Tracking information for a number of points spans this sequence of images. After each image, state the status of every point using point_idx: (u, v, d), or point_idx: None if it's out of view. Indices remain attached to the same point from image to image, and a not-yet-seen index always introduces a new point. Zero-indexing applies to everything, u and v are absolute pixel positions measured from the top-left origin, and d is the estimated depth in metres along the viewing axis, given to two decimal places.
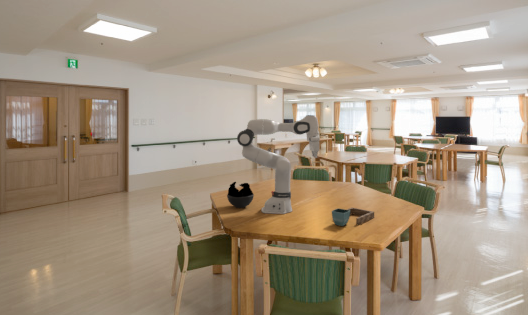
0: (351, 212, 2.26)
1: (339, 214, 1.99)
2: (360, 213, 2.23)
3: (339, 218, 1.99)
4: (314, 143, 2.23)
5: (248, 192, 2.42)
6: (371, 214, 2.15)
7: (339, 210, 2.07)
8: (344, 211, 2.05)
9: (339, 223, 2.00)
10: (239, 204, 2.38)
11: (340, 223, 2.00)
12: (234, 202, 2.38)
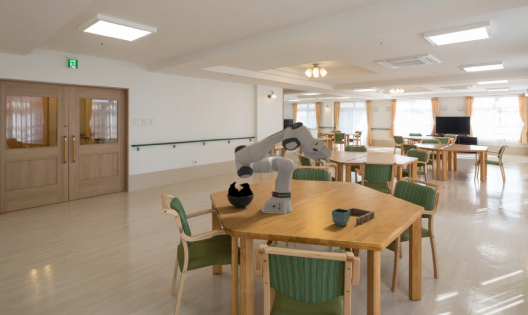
0: (351, 212, 2.26)
1: (339, 214, 1.99)
2: (360, 213, 2.23)
3: (339, 218, 1.99)
4: (324, 150, 1.83)
5: (248, 192, 2.42)
6: (371, 214, 2.15)
7: (339, 210, 2.07)
8: (344, 211, 2.05)
9: (339, 223, 2.00)
10: (239, 204, 2.38)
11: (340, 223, 2.00)
12: (234, 202, 2.38)
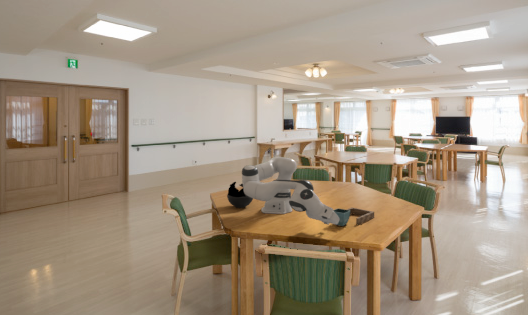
0: (351, 212, 2.26)
1: (339, 214, 1.99)
2: (360, 213, 2.23)
3: (339, 218, 1.99)
4: (333, 218, 1.79)
5: None
6: (371, 214, 2.15)
7: (339, 210, 2.07)
8: (344, 211, 2.05)
9: (339, 223, 2.00)
10: (239, 204, 2.38)
11: (340, 223, 2.00)
12: (234, 202, 2.38)
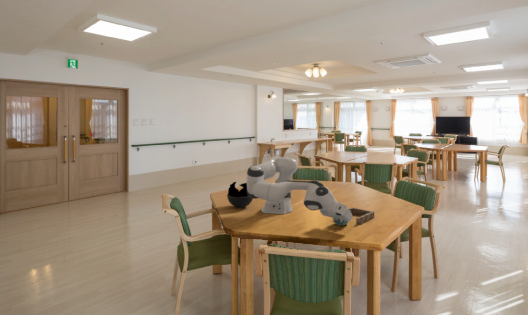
0: (351, 212, 2.26)
1: None
2: (360, 213, 2.23)
3: None
4: (347, 215, 1.86)
5: None
6: (371, 214, 2.15)
7: None
8: None
9: (340, 223, 2.01)
10: (239, 204, 2.38)
11: (341, 223, 2.00)
12: (234, 202, 2.38)
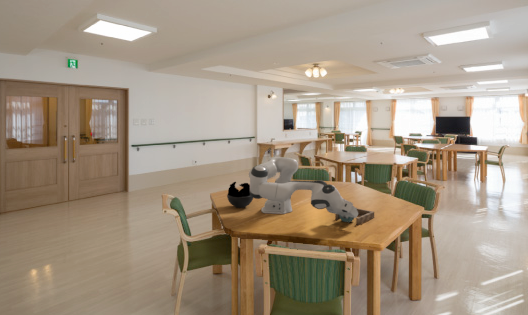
0: None
1: None
2: (360, 213, 2.23)
3: None
4: (353, 211, 1.92)
5: (248, 192, 2.42)
6: (371, 214, 2.15)
7: None
8: None
9: (345, 219, 2.07)
10: (239, 204, 2.38)
11: (346, 219, 2.06)
12: (234, 202, 2.38)
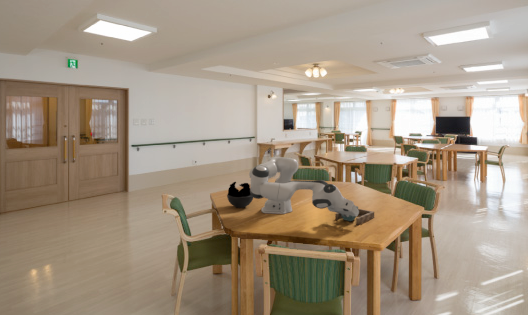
0: None
1: None
2: (360, 213, 2.23)
3: None
4: (354, 210, 1.95)
5: (248, 192, 2.42)
6: (371, 214, 2.15)
7: None
8: None
9: (347, 218, 2.10)
10: (239, 204, 2.38)
11: (348, 218, 2.09)
12: (234, 202, 2.38)
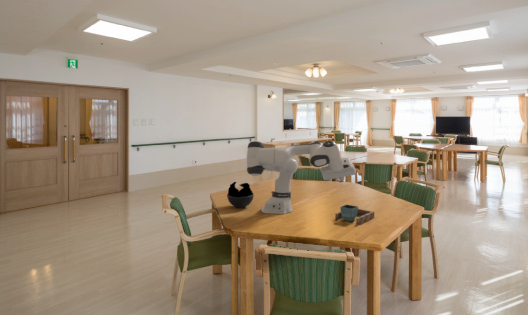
0: None
1: (347, 210, 2.08)
2: (360, 213, 2.23)
3: (347, 214, 2.09)
4: (352, 166, 1.95)
5: (248, 192, 2.42)
6: (371, 214, 2.15)
7: (347, 206, 2.17)
8: (352, 207, 2.15)
9: (347, 218, 2.10)
10: (239, 204, 2.38)
11: (348, 218, 2.09)
12: (234, 202, 2.38)
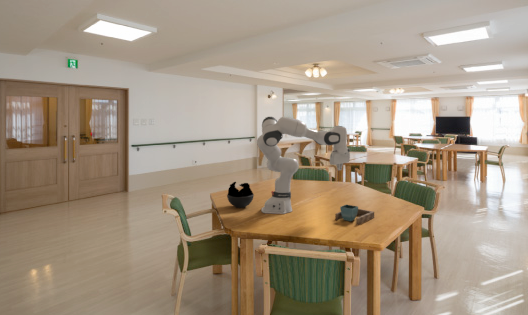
0: None
1: (347, 210, 2.08)
2: (360, 213, 2.23)
3: (347, 214, 2.09)
4: None
5: (248, 192, 2.42)
6: (371, 214, 2.15)
7: (347, 206, 2.17)
8: (352, 207, 2.15)
9: (347, 218, 2.10)
10: (239, 204, 2.38)
11: (348, 218, 2.09)
12: (234, 202, 2.38)
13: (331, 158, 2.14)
